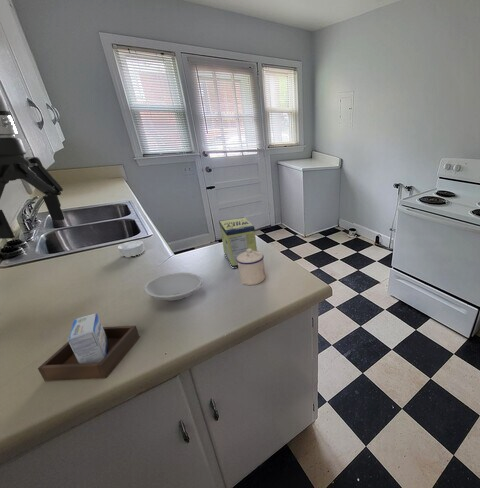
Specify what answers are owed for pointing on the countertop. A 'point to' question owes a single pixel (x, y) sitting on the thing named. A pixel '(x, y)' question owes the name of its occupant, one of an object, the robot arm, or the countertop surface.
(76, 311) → the countertop surface
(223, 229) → the protein box
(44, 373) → the holder
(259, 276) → the teacup with lid
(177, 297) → the dish
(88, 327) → the medicine box
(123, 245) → the ramekin
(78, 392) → the countertop surface
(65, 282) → the countertop surface
